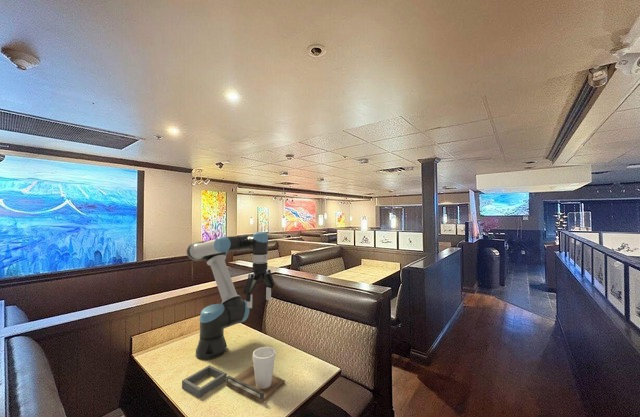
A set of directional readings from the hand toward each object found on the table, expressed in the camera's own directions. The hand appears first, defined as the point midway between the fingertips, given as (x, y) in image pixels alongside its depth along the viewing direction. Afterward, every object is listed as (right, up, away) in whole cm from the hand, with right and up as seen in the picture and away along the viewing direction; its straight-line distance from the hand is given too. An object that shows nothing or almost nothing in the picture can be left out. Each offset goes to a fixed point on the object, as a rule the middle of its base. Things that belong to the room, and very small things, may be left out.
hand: (259, 303), depth 133 cm
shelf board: (+4, -26, -23) cm, 35 cm away
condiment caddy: (-18, -26, -23) cm, 39 cm away
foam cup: (+8, -25, -25) cm, 36 cm away
